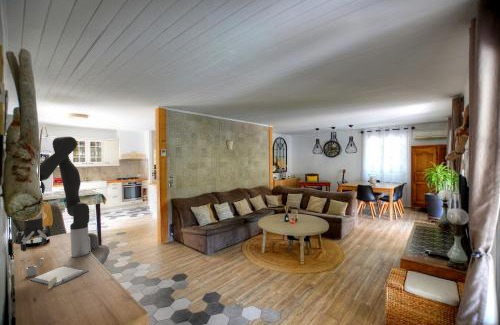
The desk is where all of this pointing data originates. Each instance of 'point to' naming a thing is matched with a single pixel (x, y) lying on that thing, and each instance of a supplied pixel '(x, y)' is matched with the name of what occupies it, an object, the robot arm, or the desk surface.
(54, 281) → the cream rectangular slab
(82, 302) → the desk surface
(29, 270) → the lighter
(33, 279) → the clipboard
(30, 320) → the desk surface
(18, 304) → the desk surface
